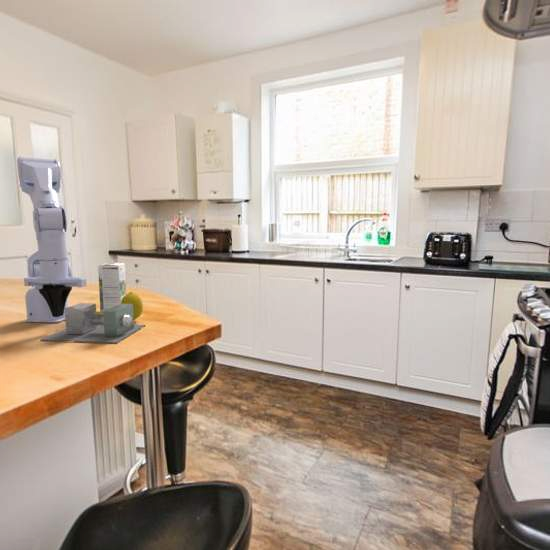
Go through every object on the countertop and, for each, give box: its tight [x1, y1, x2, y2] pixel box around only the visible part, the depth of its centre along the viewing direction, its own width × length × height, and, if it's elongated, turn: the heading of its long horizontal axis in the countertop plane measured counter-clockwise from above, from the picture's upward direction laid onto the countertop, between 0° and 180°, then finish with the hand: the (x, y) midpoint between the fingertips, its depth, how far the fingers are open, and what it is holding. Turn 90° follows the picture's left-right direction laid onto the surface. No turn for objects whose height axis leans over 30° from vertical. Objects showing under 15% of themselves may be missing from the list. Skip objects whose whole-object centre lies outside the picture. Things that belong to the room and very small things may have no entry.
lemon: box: [121, 291, 144, 321], centre depth 101 cm, size 6×6×8 cm
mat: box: [40, 324, 146, 344], centre depth 91 cm, size 18×14×1 cm
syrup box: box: [97, 262, 127, 312], centre depth 109 cm, size 6×6×14 cm
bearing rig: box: [92, 304, 135, 338], centre depth 90 cm, size 8×8×6 cm
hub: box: [64, 302, 97, 334], centre depth 91 cm, size 4×6×6 cm, turn 174°
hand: (58, 316), depth 91 cm, fingers closed
